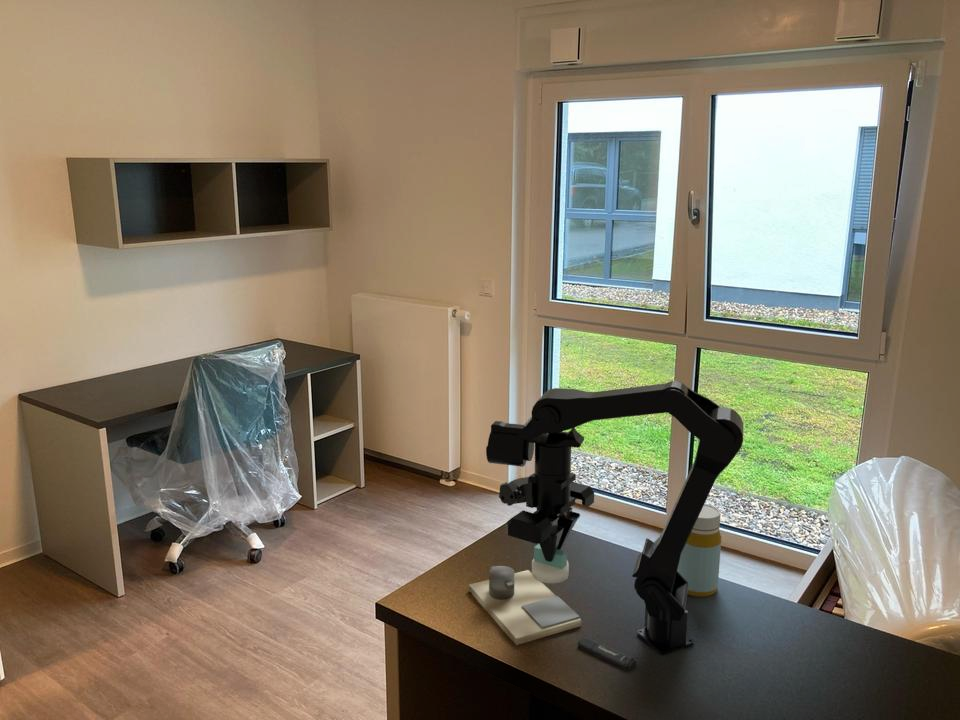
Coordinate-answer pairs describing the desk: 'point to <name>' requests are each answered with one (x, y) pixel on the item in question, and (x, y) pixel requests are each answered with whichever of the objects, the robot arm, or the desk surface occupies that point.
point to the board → (523, 605)
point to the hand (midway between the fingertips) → (551, 558)
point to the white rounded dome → (550, 566)
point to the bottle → (702, 554)
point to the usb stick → (607, 653)
